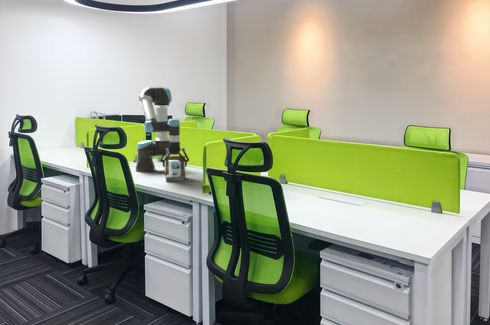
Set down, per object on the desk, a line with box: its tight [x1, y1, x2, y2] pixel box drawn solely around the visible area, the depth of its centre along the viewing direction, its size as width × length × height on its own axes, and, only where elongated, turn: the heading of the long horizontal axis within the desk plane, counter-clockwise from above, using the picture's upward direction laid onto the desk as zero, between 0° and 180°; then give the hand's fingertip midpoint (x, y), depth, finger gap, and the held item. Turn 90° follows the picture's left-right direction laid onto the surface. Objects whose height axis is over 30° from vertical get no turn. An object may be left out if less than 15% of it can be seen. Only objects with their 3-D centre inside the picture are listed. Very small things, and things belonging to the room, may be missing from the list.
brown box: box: [164, 155, 186, 183], centre depth 309 cm, size 14×14×16 cm
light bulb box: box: [168, 160, 181, 177], centre depth 308 cm, size 11×7×11 cm, turn 22°
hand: (175, 171), depth 308 cm, fingers open, 13 cm apart
